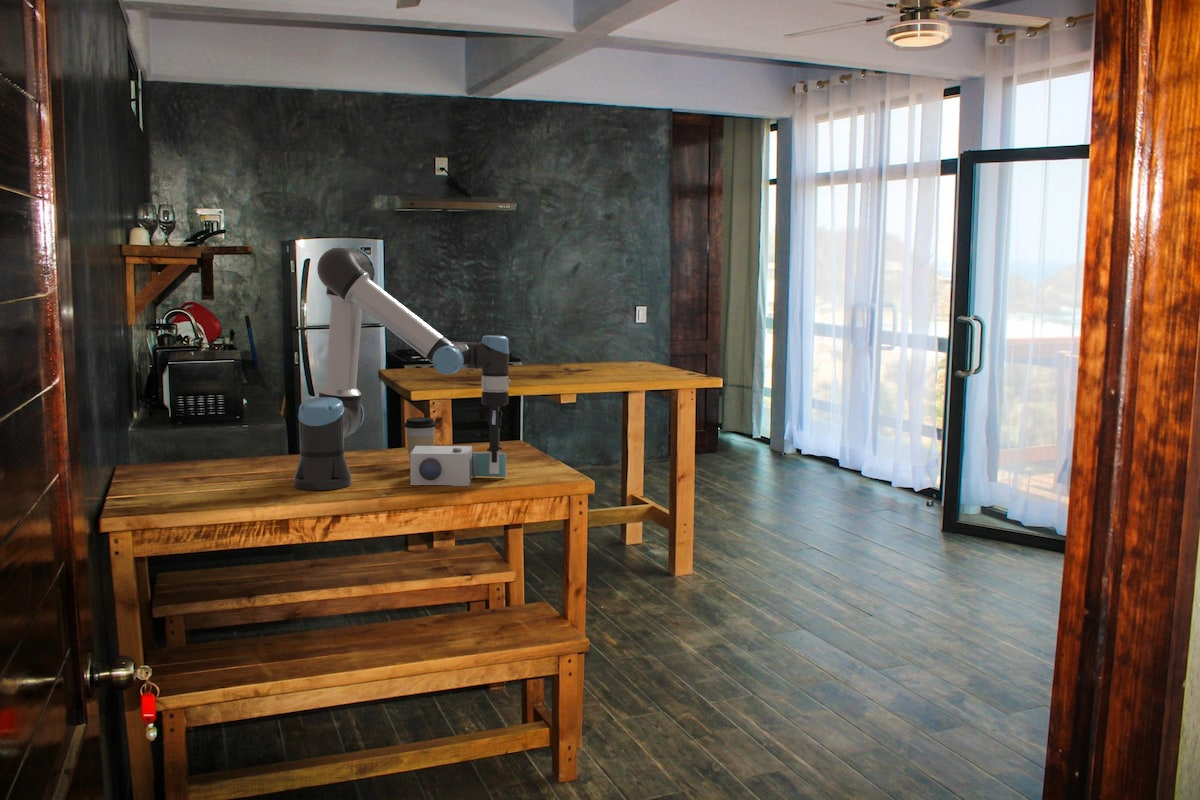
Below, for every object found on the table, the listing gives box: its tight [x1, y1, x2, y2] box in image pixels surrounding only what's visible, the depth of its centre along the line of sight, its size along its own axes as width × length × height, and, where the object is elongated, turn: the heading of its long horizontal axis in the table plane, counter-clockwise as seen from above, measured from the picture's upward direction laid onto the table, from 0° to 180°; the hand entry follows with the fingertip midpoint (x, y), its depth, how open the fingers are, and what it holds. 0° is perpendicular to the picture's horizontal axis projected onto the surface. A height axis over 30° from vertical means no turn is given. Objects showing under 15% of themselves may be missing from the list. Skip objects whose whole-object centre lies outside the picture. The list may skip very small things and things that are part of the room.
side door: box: [472, 451, 507, 478], centre depth 283 cm, size 10×2×7 cm, turn 86°
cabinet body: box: [409, 445, 473, 487], centre depth 276 cm, size 16×13×10 cm
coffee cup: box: [403, 416, 437, 460], centre depth 293 cm, size 9×9×15 cm
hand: (494, 473), depth 280 cm, fingers closed
